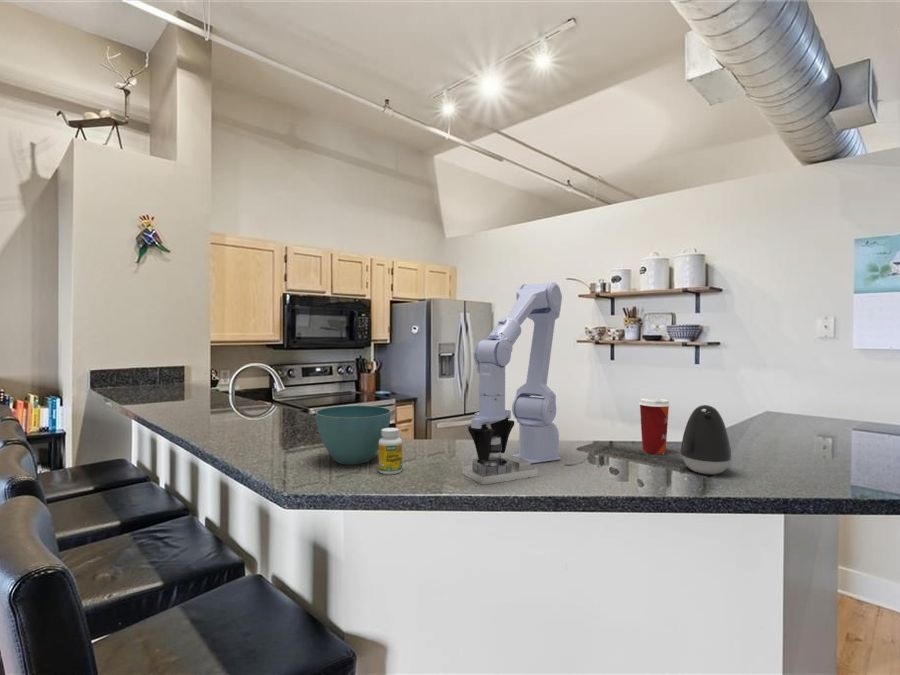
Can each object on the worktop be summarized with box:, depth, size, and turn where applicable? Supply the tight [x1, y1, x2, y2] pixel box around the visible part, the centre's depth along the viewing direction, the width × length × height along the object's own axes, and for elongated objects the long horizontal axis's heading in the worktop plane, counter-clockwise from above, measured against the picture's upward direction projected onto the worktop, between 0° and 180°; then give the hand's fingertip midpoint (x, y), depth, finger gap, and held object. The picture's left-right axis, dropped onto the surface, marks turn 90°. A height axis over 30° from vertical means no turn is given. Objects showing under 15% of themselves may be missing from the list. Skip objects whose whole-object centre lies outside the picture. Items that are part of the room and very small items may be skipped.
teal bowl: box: [315, 405, 392, 465], centre depth 120 cm, size 18×18×12 cm
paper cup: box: [638, 397, 671, 455], centre depth 129 cm, size 8×8×14 cm
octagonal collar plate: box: [461, 456, 539, 486], centre depth 108 cm, size 14×9×3 cm, turn 116°
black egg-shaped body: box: [680, 404, 732, 476], centre depth 111 cm, size 10×10×15 cm
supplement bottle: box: [378, 427, 403, 475], centre depth 110 cm, size 5×5×10 cm
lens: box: [481, 434, 502, 466], centre depth 107 cm, size 5×5×7 cm
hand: (491, 456), depth 107 cm, fingers open, 7 cm apart
